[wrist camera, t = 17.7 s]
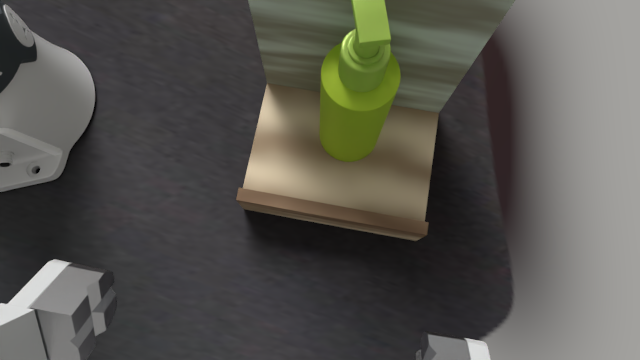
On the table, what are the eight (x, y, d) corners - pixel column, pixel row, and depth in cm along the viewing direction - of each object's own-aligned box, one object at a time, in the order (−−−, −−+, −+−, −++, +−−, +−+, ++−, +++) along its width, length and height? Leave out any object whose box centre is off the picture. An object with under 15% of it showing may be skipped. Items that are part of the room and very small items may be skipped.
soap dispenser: (370, 94, 47) (409, -44, 28) (381, 158, 46) (430, 57, 26) (314, 101, 47) (313, -34, 28) (323, 165, 45) (329, 69, 26)
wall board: (415, 241, 47) (500, 196, 25) (243, 209, 47) (184, 139, 26) (433, 106, 50) (520, -32, 29) (273, 78, 51) (243, -77, 30)
